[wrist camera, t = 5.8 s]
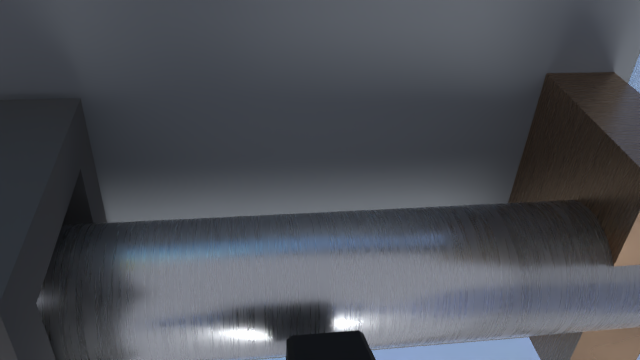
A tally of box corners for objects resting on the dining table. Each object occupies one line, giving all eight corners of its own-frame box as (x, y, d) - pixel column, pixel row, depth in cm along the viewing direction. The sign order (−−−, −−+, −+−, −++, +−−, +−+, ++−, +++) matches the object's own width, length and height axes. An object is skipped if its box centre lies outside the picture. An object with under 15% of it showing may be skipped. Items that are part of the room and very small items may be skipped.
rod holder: (614, 72, 15) (760, 193, 11) (544, 259, 19) (634, 400, 15) (-237, 87, 12) (-462, 255, 8) (-118, 301, 16) (-231, 488, 12)
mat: (687, -95, 13) (696, -92, 13) (525, 330, 21) (528, 337, 21) (-372, -121, 10) (-386, -118, 10) (-83, 379, 18) (-87, 387, 18)
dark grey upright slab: (80, 98, 13) (-3, 308, 8) (121, 291, 16) (81, 517, 12) (-18, 99, 13) (-164, 319, 8) (45, 295, 16) (-29, 530, 11)
